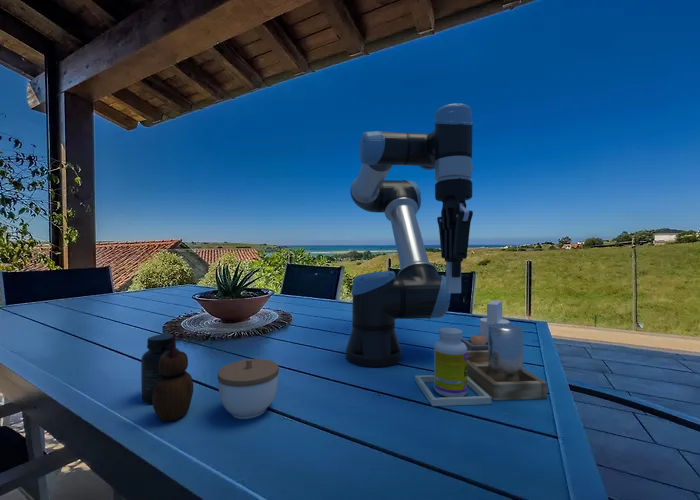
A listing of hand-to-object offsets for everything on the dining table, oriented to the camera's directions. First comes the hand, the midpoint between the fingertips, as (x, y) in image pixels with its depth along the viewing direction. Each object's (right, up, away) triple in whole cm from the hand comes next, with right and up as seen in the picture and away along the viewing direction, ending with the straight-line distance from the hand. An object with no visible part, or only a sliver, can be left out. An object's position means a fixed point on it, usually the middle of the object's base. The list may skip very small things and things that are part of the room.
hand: (453, 292), depth 68 cm
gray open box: (+14, -21, +21) cm, 32 cm away
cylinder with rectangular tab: (+26, -21, +39) cm, 51 cm away
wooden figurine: (-53, -21, -11) cm, 58 cm away
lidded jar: (-41, -21, -9) cm, 46 cm away
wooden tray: (+11, -21, +6) cm, 24 cm away
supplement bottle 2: (-1, -21, -1) cm, 21 cm away
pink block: (+14, -20, +21) cm, 32 cm away
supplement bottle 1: (-60, -21, -3) cm, 64 cm away
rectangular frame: (-1, -21, -1) cm, 21 cm away
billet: (+11, -21, +1) cm, 24 cm away
